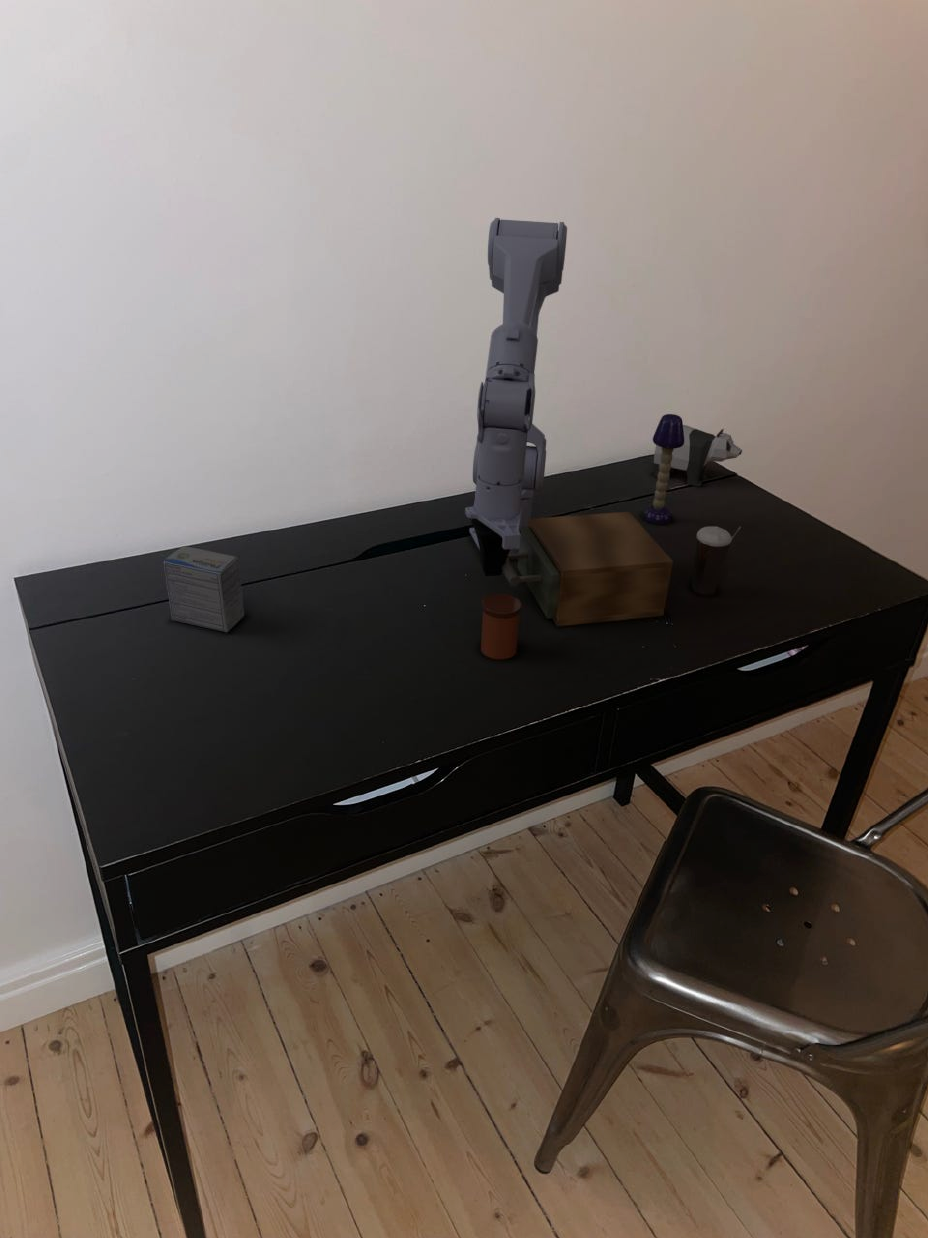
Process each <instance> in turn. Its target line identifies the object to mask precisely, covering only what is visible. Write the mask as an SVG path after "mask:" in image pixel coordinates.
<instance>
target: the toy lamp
mask: <svg viewBox="0 0 928 1238" xmlns="http://www.w3.org/2000/svg"><path fill="white" fill-rule="evenodd" d="M683 425H684V423H683V419H682V417H681V416H680V415H677V414H675V413H674V414H672V413H666V414H664V415H662V416H661V418H660V420H659V423H658V424H657V426H656V428H655V431H654V434H653V436H652V442H653V444H654V445H655V446H656V445H658V446H659V447H662V454H661V457H660V459H661V462H660V465H659V470H660V471H659V473H658V477H657V481H656V484H655V491H654V499H653V501H652V505H651V506H648V507H647V508H646V509H645V511H644V513H643V519H644V521H646V522H648V523H651V524H654V525H665V524H668V523H670V522H671V521H672V515H671V513H670V510H668V508H667V507H665V503H666V501H665V499H666V497H667V490H668V487H669V482H668V481H669V480H670V476H671V475H670V472H669V471H670V469H671V463H670V462H671V461H672V452H673V450H674V448H680V447H681V446H683V444H684V431H683Z"/></svg>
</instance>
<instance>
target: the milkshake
mask: <svg viewBox="0 0 928 1238" xmlns="http://www.w3.org/2000/svg"><path fill="white" fill-rule="evenodd" d="M741 528H742V525H741V526H740V525H739V527H738V528H737V530H736V531H735V533H734V534H732V535H731V534H730V533H729V532H728V531H727V530H726V529H723V528H721V527H720V526H716V525H715V526H704V527H701V528H700V529H699V530H698V531H697V533H696V537H695V549H694V551H695V552H694V560H693V561H694V562H693V569H692V580H691V589H692V592H694V593H695V594H698V595H701V596H710V595H711V596H712V595H715V593H716V592H717V589H718V587H719V586H718V585H719V582H720V579H721V575H722V572H723V569H724V565H725V562H726V560H727V559H726V558H727V555H728V552H729V550H730V547H731V543H732V540H733V539H734V537H735V536H736V535H737V533H738V532H739V531H740V529H741Z"/></svg>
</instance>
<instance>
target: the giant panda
mask: <svg viewBox="0 0 928 1238" xmlns="http://www.w3.org/2000/svg"><path fill="white" fill-rule="evenodd" d="M724 430H725V428H722V429H720V430H719V432H718V433H717V434H716V435H715V434H713V433H710V432H706V431H703V430H700V429H698V428H696V427H692V426H690V425H687V424H683V431H684V444H683V446H681V447H680V448H674V450H673V452H672V461H671V462H670V463H671V469H670V471H669V473H674V472H675V469H677V470H681V471H686V476H687V477H686V478H687V480H686V484H687V485H689V486H693V487H694V486H695V487H698V488H700V487H702V485H703V482H702V481H701V480H704V481H705V480H708V474H706V468H707V465H708V463H709V462H719V463H722V462H724V461H726V460H731V459H736V458H738V457H739V456H741V455H742V453H743V450H742V449H741V448H740V447H739V446H737V445H736V444H735V443H734V440H733V438H732V435H731V434H729V433H726V432H724ZM653 454H654V455H653V476H655V477H657V478H658V473H659V471H660V470H659V465H660V462H661V459H660V457H661V454H662V447H659V446H658V445H656V444H655V449H654V453H653Z"/></svg>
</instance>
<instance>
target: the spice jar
mask: <svg viewBox="0 0 928 1238" xmlns="http://www.w3.org/2000/svg"><path fill="white" fill-rule="evenodd" d="M481 603H482V604H481V609H482V618H481V619H482V620H481V632H480V633H481V636H480V651H481V653H482V654H483V655H484V656H486V657H487V658H490V659H494V660H508V659H510V658H513V657H514V656H515V655H516V654H517V652H518V640H519V629H520V616H521V612H522V602H521V601H520V599H519V598H518V597H516V596H513V595H511V594H507V593H495V594H494V593H493V594H490V595H488V596H485V598H484V599H483V600H482V602H481Z"/></svg>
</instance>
